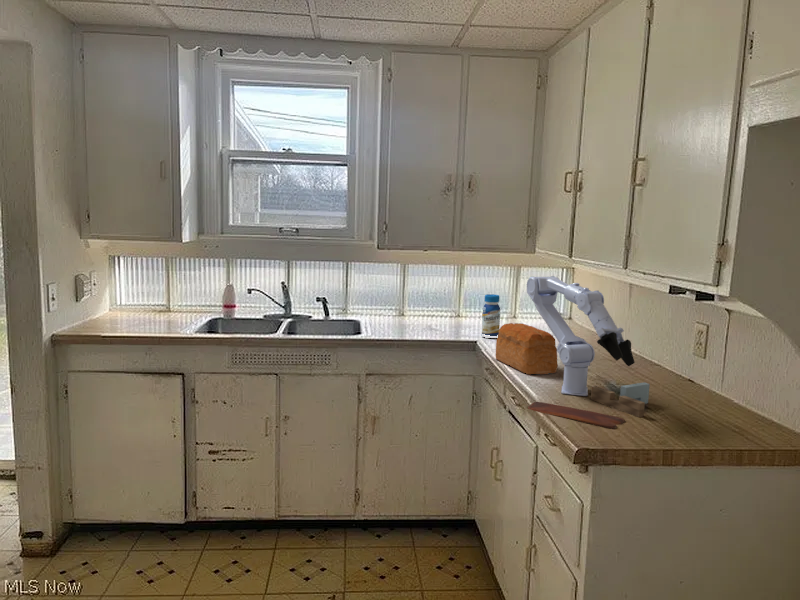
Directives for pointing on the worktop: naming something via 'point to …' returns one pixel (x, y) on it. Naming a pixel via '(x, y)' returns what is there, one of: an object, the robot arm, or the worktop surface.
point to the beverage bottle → (491, 315)
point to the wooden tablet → (577, 414)
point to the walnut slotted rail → (618, 401)
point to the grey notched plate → (636, 391)
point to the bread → (527, 349)
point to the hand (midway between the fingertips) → (625, 361)
